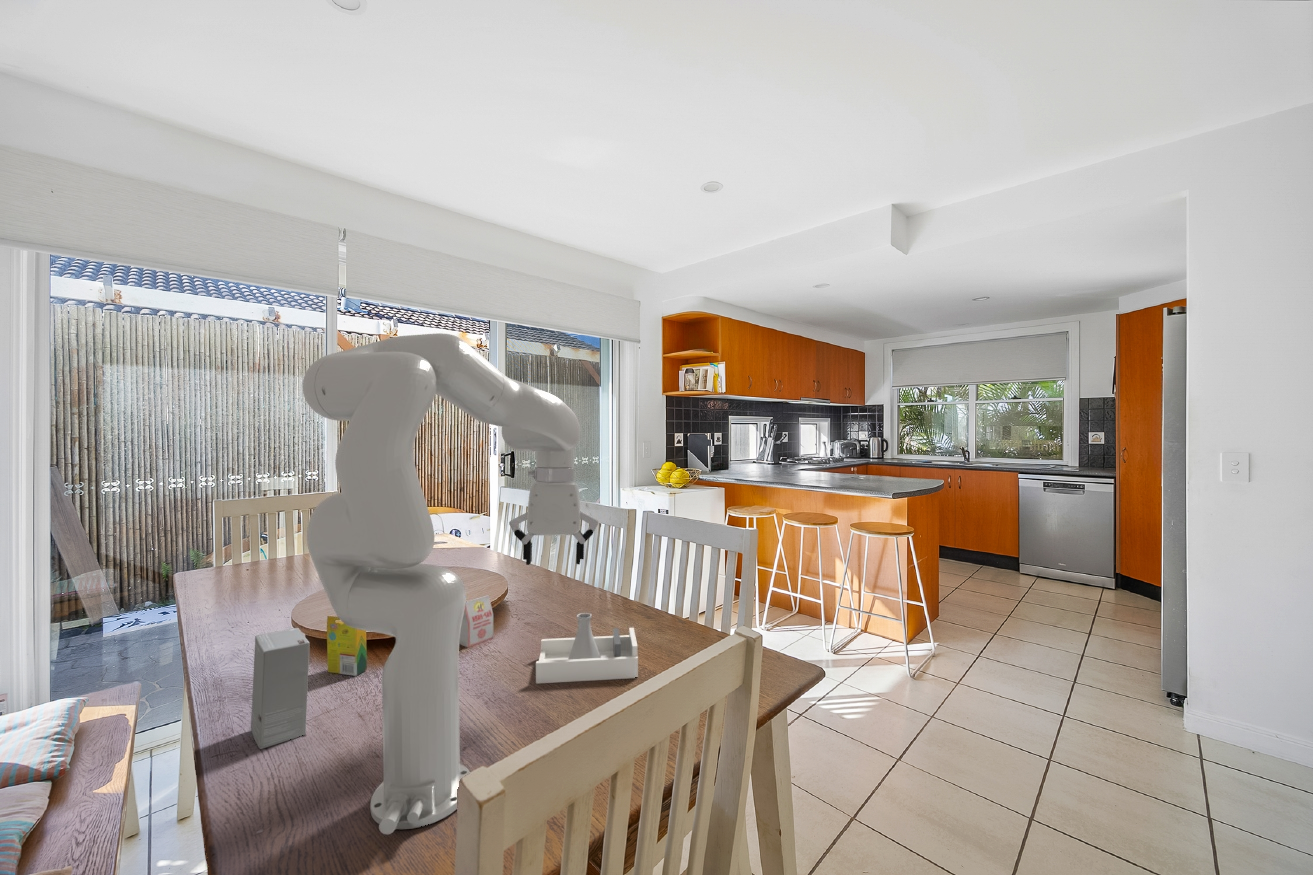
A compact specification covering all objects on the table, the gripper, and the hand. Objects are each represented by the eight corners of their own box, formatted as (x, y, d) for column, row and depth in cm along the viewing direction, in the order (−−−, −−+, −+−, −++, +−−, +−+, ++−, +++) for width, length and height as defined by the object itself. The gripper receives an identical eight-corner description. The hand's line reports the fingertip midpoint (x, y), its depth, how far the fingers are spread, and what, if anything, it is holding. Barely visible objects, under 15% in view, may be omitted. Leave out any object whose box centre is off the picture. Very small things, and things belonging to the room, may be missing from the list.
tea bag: (458, 643, 125) (458, 600, 125) (484, 634, 131) (483, 593, 130) (468, 647, 123) (467, 604, 123) (493, 638, 128) (493, 596, 128)
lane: (637, 677, 108) (637, 648, 108) (535, 683, 106) (535, 653, 106) (633, 652, 120) (633, 625, 120) (541, 657, 118) (541, 629, 118)
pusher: (620, 668, 110) (620, 643, 109) (614, 668, 109) (614, 644, 109) (618, 650, 118) (618, 628, 118) (613, 651, 118) (613, 628, 118)
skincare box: (249, 730, 90) (248, 635, 89) (300, 714, 95) (298, 624, 94) (259, 752, 84) (257, 651, 83) (312, 733, 89) (310, 638, 88)
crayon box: (367, 670, 112) (366, 614, 111) (356, 676, 109) (355, 619, 109) (338, 666, 114) (337, 611, 113) (326, 672, 111) (325, 615, 111)
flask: (595, 672, 109) (595, 622, 108) (561, 668, 110) (561, 620, 110) (606, 656, 116) (605, 610, 115) (573, 654, 117) (573, 608, 117)
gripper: (507, 477, 103) (505, 568, 103) (598, 478, 104) (597, 567, 104) (513, 475, 110) (512, 559, 110) (599, 475, 112) (597, 558, 112)
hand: (553, 563), depth 107 cm, fingers open, 9 cm apart
